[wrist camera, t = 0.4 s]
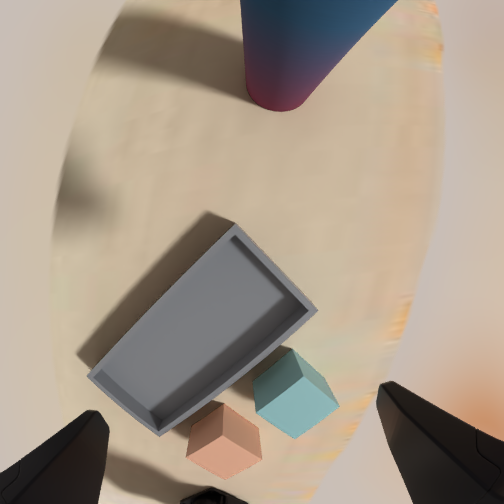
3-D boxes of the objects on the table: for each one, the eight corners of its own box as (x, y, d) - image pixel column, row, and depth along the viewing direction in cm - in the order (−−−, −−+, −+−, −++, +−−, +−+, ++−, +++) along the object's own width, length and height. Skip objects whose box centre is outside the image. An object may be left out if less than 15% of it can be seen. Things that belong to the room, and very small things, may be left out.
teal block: (286, 407, 24) (294, 439, 19) (252, 381, 23) (255, 412, 18) (324, 377, 23) (339, 406, 19) (292, 348, 23) (303, 376, 18)
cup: (307, 135, 20) (412, 26, 6) (222, 106, 20) (203, -42, 5) (328, 67, 20) (412, -51, 5) (250, 41, 19) (267, -101, 4)
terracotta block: (225, 448, 24) (224, 479, 19) (191, 425, 23) (185, 457, 19) (258, 427, 24) (262, 459, 19) (224, 402, 23) (222, 435, 19)
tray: (163, 422, 23) (159, 436, 21) (96, 364, 22) (86, 376, 20) (311, 301, 22) (318, 310, 20) (235, 222, 21) (235, 223, 19)
